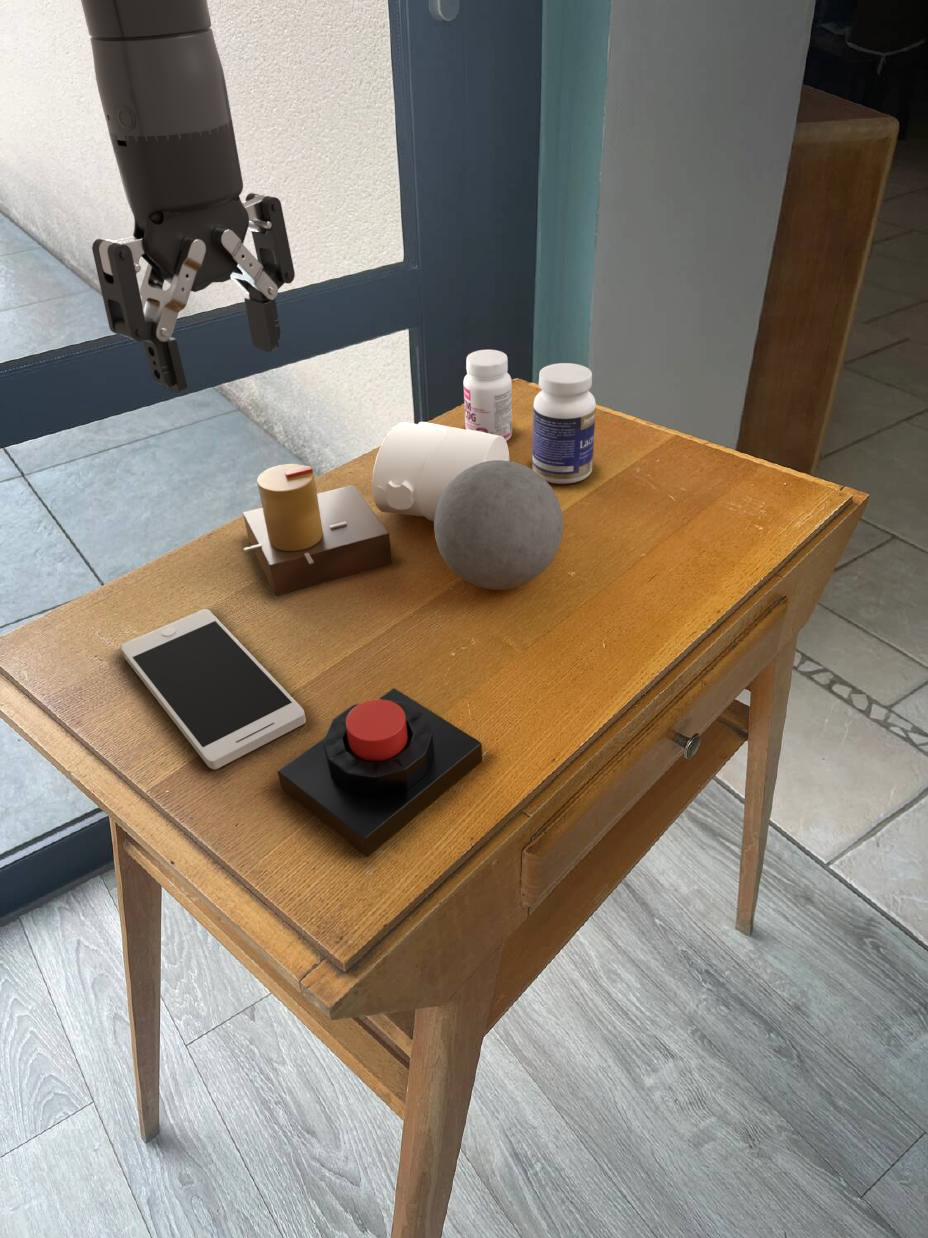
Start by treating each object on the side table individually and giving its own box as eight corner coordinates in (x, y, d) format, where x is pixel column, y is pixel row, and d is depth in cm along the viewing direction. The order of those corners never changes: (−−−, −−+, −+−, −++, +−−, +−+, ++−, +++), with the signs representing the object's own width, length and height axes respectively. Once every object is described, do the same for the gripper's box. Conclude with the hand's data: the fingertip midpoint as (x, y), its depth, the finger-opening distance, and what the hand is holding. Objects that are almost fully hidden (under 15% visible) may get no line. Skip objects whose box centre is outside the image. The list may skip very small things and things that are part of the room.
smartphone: (209, 615, 73) (206, 606, 72) (309, 722, 63) (306, 711, 62) (121, 654, 70) (117, 644, 69) (212, 772, 60) (209, 762, 59)
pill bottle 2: (591, 487, 86) (597, 385, 80) (530, 485, 87) (530, 384, 81) (592, 457, 91) (597, 359, 85) (534, 456, 92) (535, 358, 86)
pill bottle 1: (455, 437, 95) (452, 358, 90) (486, 421, 98) (484, 343, 93) (490, 451, 93) (489, 370, 88) (521, 434, 95) (521, 354, 90)
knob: (277, 557, 74) (264, 493, 70) (262, 530, 77) (250, 468, 74) (330, 542, 75) (320, 479, 72) (314, 517, 78) (304, 455, 75)
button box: (367, 857, 54) (361, 818, 52) (281, 789, 59) (272, 750, 56) (482, 761, 60) (481, 722, 58) (396, 705, 64) (391, 667, 62)
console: (264, 609, 74) (257, 576, 72) (234, 545, 81) (227, 514, 79) (398, 571, 77) (394, 539, 75) (357, 513, 84) (353, 482, 83)
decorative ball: (563, 615, 71) (567, 502, 65) (433, 615, 72) (425, 503, 66) (559, 543, 79) (562, 436, 73) (442, 544, 80) (435, 438, 74)
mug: (476, 550, 79) (473, 466, 74) (376, 532, 82) (367, 450, 77) (521, 483, 88) (521, 403, 83) (429, 468, 91) (424, 391, 86)
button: (376, 770, 55) (373, 750, 54) (336, 742, 57) (333, 721, 56) (419, 737, 57) (417, 716, 56) (379, 711, 59) (376, 690, 58)
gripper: (220, 95, 64) (261, 327, 74) (32, 134, 55) (107, 390, 65) (295, 103, 60) (328, 347, 70) (106, 146, 52) (174, 417, 61)
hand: (221, 367), depth 68 cm, fingers open, 8 cm apart
